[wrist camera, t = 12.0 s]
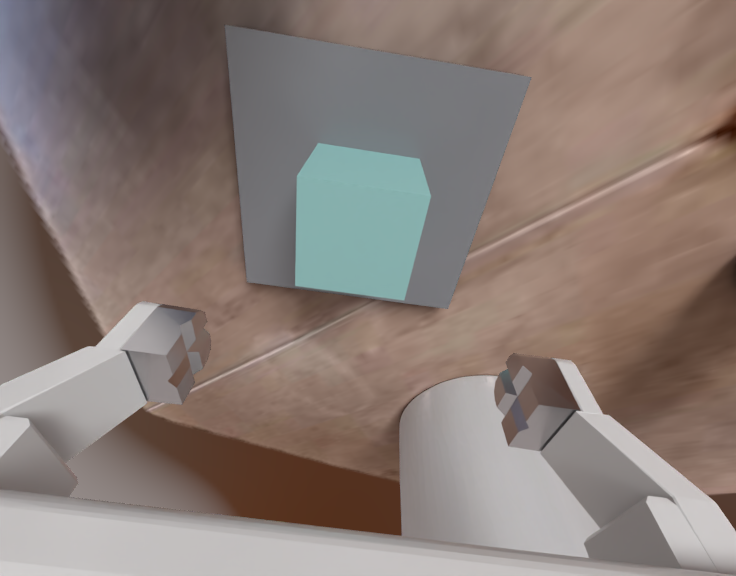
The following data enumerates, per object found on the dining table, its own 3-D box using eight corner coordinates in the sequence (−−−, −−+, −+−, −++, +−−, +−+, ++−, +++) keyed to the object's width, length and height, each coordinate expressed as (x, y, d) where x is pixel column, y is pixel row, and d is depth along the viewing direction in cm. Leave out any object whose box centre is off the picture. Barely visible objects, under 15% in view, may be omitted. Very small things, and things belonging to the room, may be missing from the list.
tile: (522, 75, 16) (531, 77, 15) (445, 297, 23) (447, 308, 22) (235, 25, 15) (224, 24, 14) (252, 271, 22) (246, 281, 22)
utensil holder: (462, 341, 26) (561, 715, 11) (597, 407, 30) (794, 744, 15) (364, 433, 33) (350, 724, 19) (482, 475, 37) (542, 742, 23)
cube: (419, 159, 17) (431, 196, 13) (400, 247, 20) (404, 300, 16) (318, 142, 16) (296, 175, 12) (313, 234, 19) (295, 286, 15)
